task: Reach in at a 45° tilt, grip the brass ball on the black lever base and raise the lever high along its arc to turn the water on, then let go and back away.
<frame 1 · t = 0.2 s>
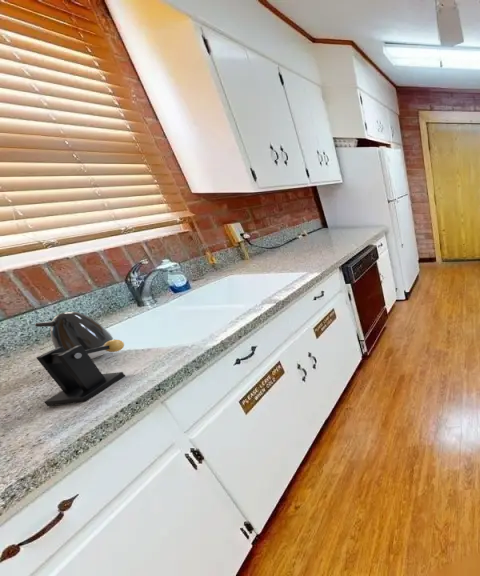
black lever base: (89, 390, 79), on the countertop
dark glossy oval piece: (94, 355, 92), on the countertop
tap lever: (91, 350, 80), point 9 cm above the countertop, hinge at -20.0°
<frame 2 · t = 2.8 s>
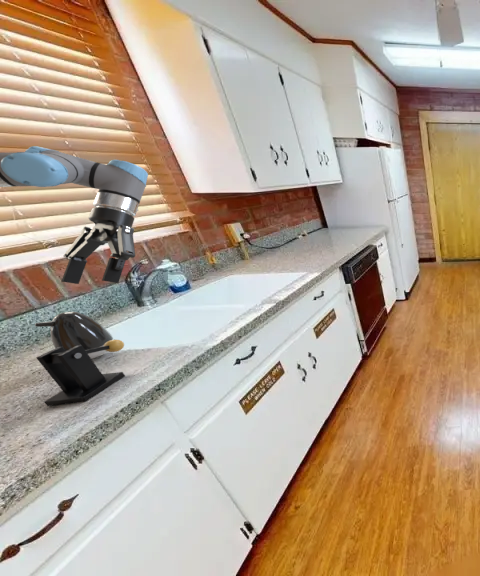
hand: (89, 282, 81), 26 cm above the countertop, tool tilted 35°, fingers open, 13 cm apart
nothing on the countertop moved.
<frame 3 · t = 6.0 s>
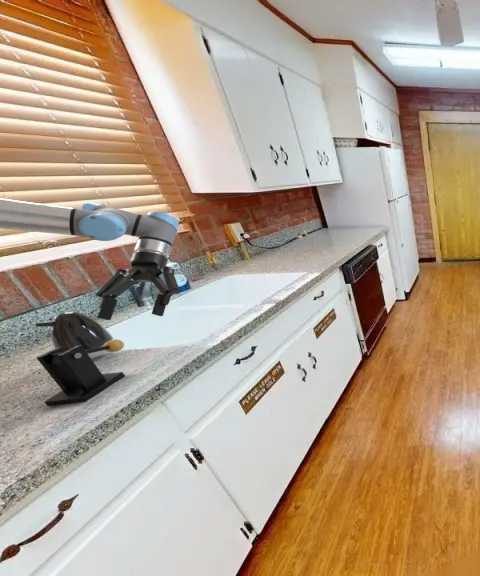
hand: (130, 317, 90), 12 cm above the countertop, tool tilted 45°, fingers open, 13 cm apart
nothing on the countertop moved.
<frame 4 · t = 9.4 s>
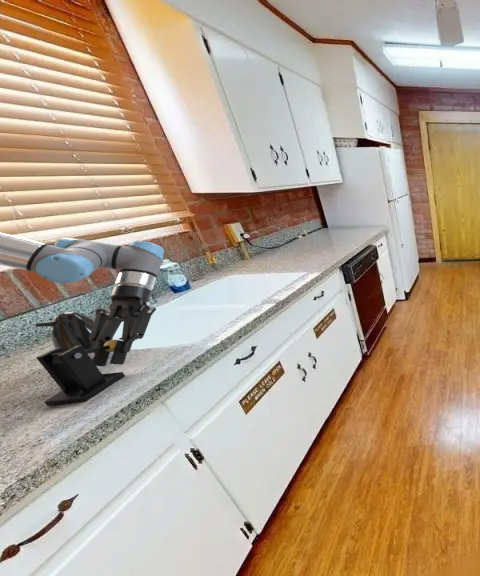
hand: (107, 364, 83), 3 cm above the countertop, tool tilted 45°, fingers closed on tap lever, 4 cm apart
tap lever: (91, 350, 80), point 9 cm above the countertop, hinge at -20.0°, touching gripper
everything else where it was.
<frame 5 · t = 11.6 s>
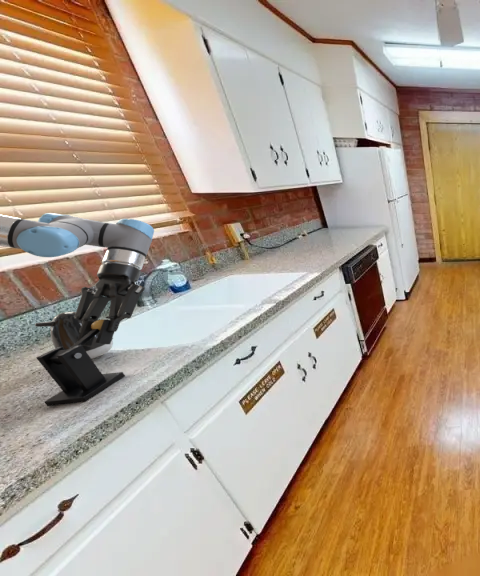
hand: (93, 344, 80), 10 cm above the countertop, tool tilted 45°, fingers closed on tap lever, 4 cm apart
tap lever: (84, 340, 79), point 12 cm above the countertop, hinge at 15.2°, touching gripper
everything else where it was.
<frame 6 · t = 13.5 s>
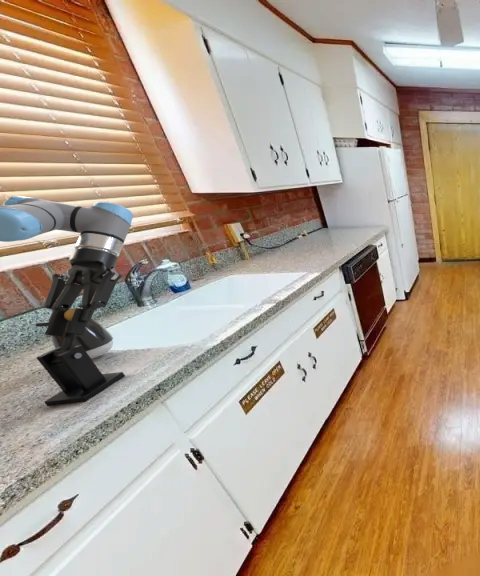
hand: (64, 334, 75), 16 cm above the countertop, tool tilted 45°, fingers closed on tap lever, 4 cm apart
tap lever: (70, 334, 76), point 15 cm above the countertop, hinge at 49.5°, touching gripper
everything else where it was.
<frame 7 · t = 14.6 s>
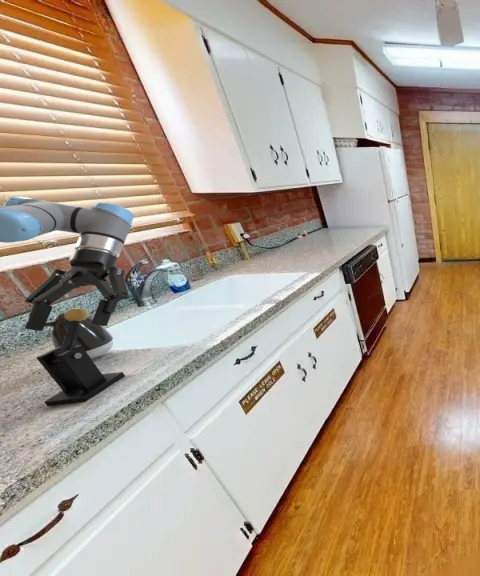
hand: (66, 327, 75), 17 cm above the countertop, tool tilted 45°, fingers open, 13 cm apart
tap lever: (70, 334, 76), point 15 cm above the countertop, hinge at 49.2°
everything else where it was.
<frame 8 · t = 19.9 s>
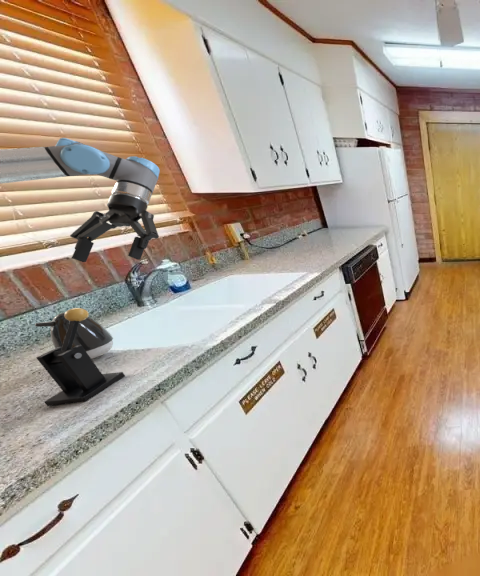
hand: (106, 259, 87), 30 cm above the countertop, tool tilted 45°, fingers open, 13 cm apart
nothing on the countertop moved.
at the end: tap lever at +49° (first picture: -20°); the gripper is holding nothing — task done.
